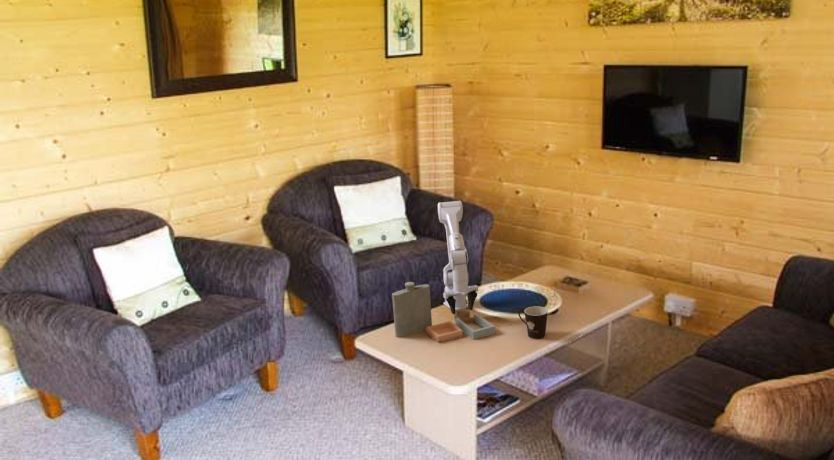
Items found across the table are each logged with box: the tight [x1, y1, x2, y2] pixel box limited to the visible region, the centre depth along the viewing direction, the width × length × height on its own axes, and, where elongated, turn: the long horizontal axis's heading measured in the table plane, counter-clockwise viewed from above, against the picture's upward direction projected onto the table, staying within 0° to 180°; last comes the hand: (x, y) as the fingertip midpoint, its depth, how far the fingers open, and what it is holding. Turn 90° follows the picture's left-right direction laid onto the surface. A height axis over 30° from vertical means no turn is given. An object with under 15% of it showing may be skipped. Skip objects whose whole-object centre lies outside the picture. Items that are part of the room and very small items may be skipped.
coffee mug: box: [517, 305, 549, 340], centre depth 288 cm, size 12×9×10 cm
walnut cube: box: [453, 307, 471, 324], centre depth 305 cm, size 4×4×4 cm
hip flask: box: [391, 281, 433, 339], centre depth 296 cm, size 16×4×20 cm, turn 119°
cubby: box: [454, 313, 496, 340], centre depth 296 cm, size 15×9×3 cm, turn 24°
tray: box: [425, 320, 464, 344], centre depth 294 cm, size 10×10×2 cm
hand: (462, 311), depth 304 cm, fingers open, 7 cm apart
